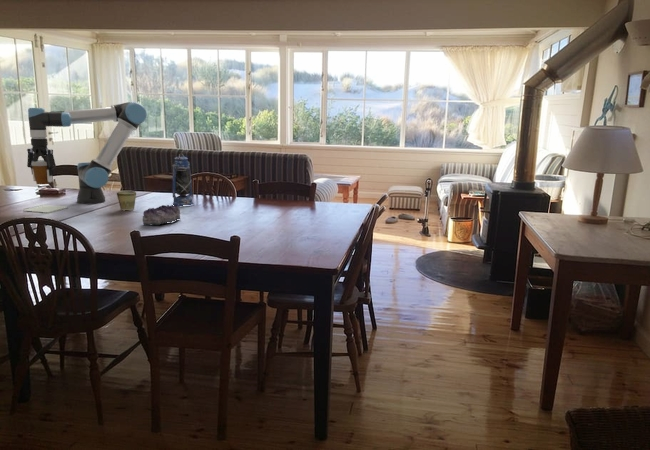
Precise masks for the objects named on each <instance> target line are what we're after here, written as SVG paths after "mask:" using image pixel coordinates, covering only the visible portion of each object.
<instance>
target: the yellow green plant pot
mask: <svg viewBox="0 0 650 450" xmlns="http://www.w3.org/2000/svg"><path fill="white" fill-rule="evenodd" d="M116 196H117V199H118V204H119V207H120V211H122V210H132V211H134V210H135V206H136V197H137V191H135V190H119V191H116ZM133 209H134V210H133Z"/></svg>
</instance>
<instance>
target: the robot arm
mask: <svg viewBox="0 0 650 450" xmlns="http://www.w3.org/2000/svg"><path fill="white" fill-rule="evenodd" d="M27 113H28V115H27V116H28V125H29V126H28V127H29V136H30V145H31V146H32V147H30V148H27V149H26V151H27V164H26V166H27V167H28V168H30V172H31V175H32V179H33V182H36V179H35V175H34V171H33V167H32V164H31V163H32V161H33V162H36V161H38V160H39V159H40V158H39V157H41V158H42V160H44V161H45V162H47V168H48V169H47V178H48V182H50V183H52V182H54V180H53V178H54V177H53V176H54V171H53V170H55V169H57V164H56V161H55V158H54V150H53V149H49V148H48V145H49V144H48V139H47V137H48V135H47V127H49V128H50V127H55V128H56V127H59V128H60V127H61V128H62V127H63V128H66V127H71V125H75V124H85V123H86V124H87V123H97V122H98V123H99V122H107V121H113V122H114V123H116V122H117V124H116V126H115V127H114V129H113V130H112V133H110V135H109V137H108V138H107V140H106V142H105V144H104V145H103V146H102V148H101V150H100V151H99V153H98V155H97V156H96V158H93V159H91V160H90V162H79V163H77V168H76V169H77V174H78V175H77V176H78V185H79V188H78V189H79V190H78V193H77V197H76V202H77V203H78V204H87V205H89V204H99V203H100V204H101V203H103V202H106V196H105V194H104V190H103V189H102V187H104V186H106V185H107V183H108V181H109V176H110V175H111V173H112V171H113V170H112V165H113V163H114V162H115V160H116V159H117V157H118V155H119V154H120V152H121V151H122V149H123V147H124V146H125V143H126V142H127V141H128V139H129V137H130V136H131V134H132V133H133V132H134V131H137V129H138V128H139V126H140V125H141V124H143V122H145V121H146V119H147V115H148V114H147V109H146V108H145V106H144V105H142V104H141V103H140V102H135V101H133V102H123V103H119V104H111V105H110V106H108V107H106V106H105V107H95V108H83V109H80V108H79V109H72V110H71V109H69V110H58V111H57V110H56V111H54V110H53V111H46V110H45V108H44V107H29V108H28V109H27Z"/></svg>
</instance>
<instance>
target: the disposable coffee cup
mask: <svg viewBox="0 0 650 450" xmlns="http://www.w3.org/2000/svg"><path fill="white" fill-rule="evenodd" d="M31 164H32V167H33V171H34V175H35V179H36V181H35V183H36V185H49V184H50V183H51V182H48V178H47V169H48V168H47V162H45V161H44V159H42V160H41V159H38V161H36V162H33V161H32V163H31Z"/></svg>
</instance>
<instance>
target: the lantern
mask: <svg viewBox="0 0 650 450" xmlns="http://www.w3.org/2000/svg"><path fill="white" fill-rule="evenodd" d="M181 155H182V156H181ZM174 159H175V160H174V163H173V164H172V165H171V166H172V198H173V201H172V204H173V205H174V204H175V205H176V204H177V205H178V206H183V205H191V204H194V202H193V198H192V197H191V196H192V195H193V189H192V188H193V187H192V175H191V162H190V161H188V159H189V158H188V157H186V156H184V153H179V154H178V156H175V157H174ZM176 195H178V196H176Z"/></svg>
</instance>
